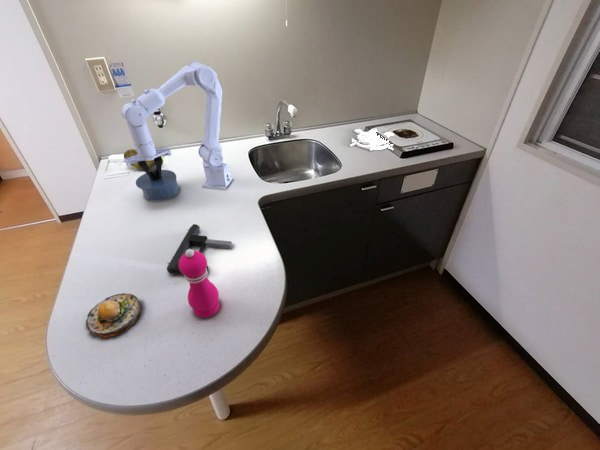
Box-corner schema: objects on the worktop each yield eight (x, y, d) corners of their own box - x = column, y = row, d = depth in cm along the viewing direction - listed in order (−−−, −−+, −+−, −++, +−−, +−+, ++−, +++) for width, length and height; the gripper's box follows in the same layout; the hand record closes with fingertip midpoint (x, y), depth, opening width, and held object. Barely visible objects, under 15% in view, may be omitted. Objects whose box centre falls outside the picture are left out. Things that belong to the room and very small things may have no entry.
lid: (183, 174, 114) (180, 162, 111) (164, 193, 104) (160, 181, 101) (150, 170, 116) (146, 159, 114) (128, 189, 106) (123, 177, 103)
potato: (144, 175, 131) (137, 158, 126) (124, 168, 136) (118, 151, 131) (159, 167, 137) (154, 150, 132) (140, 160, 142) (134, 144, 137)
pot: (184, 186, 124) (181, 173, 120) (168, 203, 114) (163, 189, 110) (156, 183, 126) (152, 169, 122) (138, 199, 116) (132, 186, 112)
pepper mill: (195, 297, 80) (175, 240, 68) (223, 295, 81) (208, 238, 68) (189, 321, 74) (167, 263, 62) (219, 318, 75) (203, 261, 62)
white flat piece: (348, 148, 151) (348, 146, 150) (354, 128, 172) (355, 125, 171) (393, 153, 146) (393, 150, 146) (393, 131, 168) (394, 129, 167)
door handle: (236, 227, 99) (187, 222, 99) (217, 273, 83) (160, 267, 84) (236, 235, 101) (189, 230, 101) (219, 281, 85) (162, 275, 86)
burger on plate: (147, 295, 81) (137, 276, 76) (133, 335, 71) (122, 316, 67) (99, 300, 80) (86, 280, 75) (79, 341, 70) (63, 322, 66)
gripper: (121, 151, 95) (136, 188, 104) (169, 140, 101) (179, 176, 110) (117, 143, 100) (132, 180, 108) (163, 134, 106) (173, 169, 114)
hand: (155, 178), depth 109 cm, fingers closed on lid, 2 cm apart
